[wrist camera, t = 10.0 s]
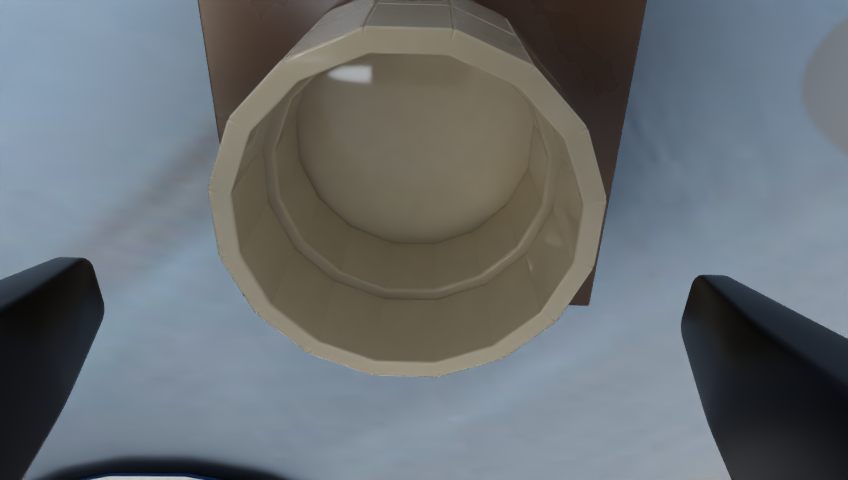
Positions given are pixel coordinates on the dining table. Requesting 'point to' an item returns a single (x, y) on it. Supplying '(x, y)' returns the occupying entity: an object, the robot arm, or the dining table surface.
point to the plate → (148, 476)
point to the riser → (519, 3)
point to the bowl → (408, 190)
